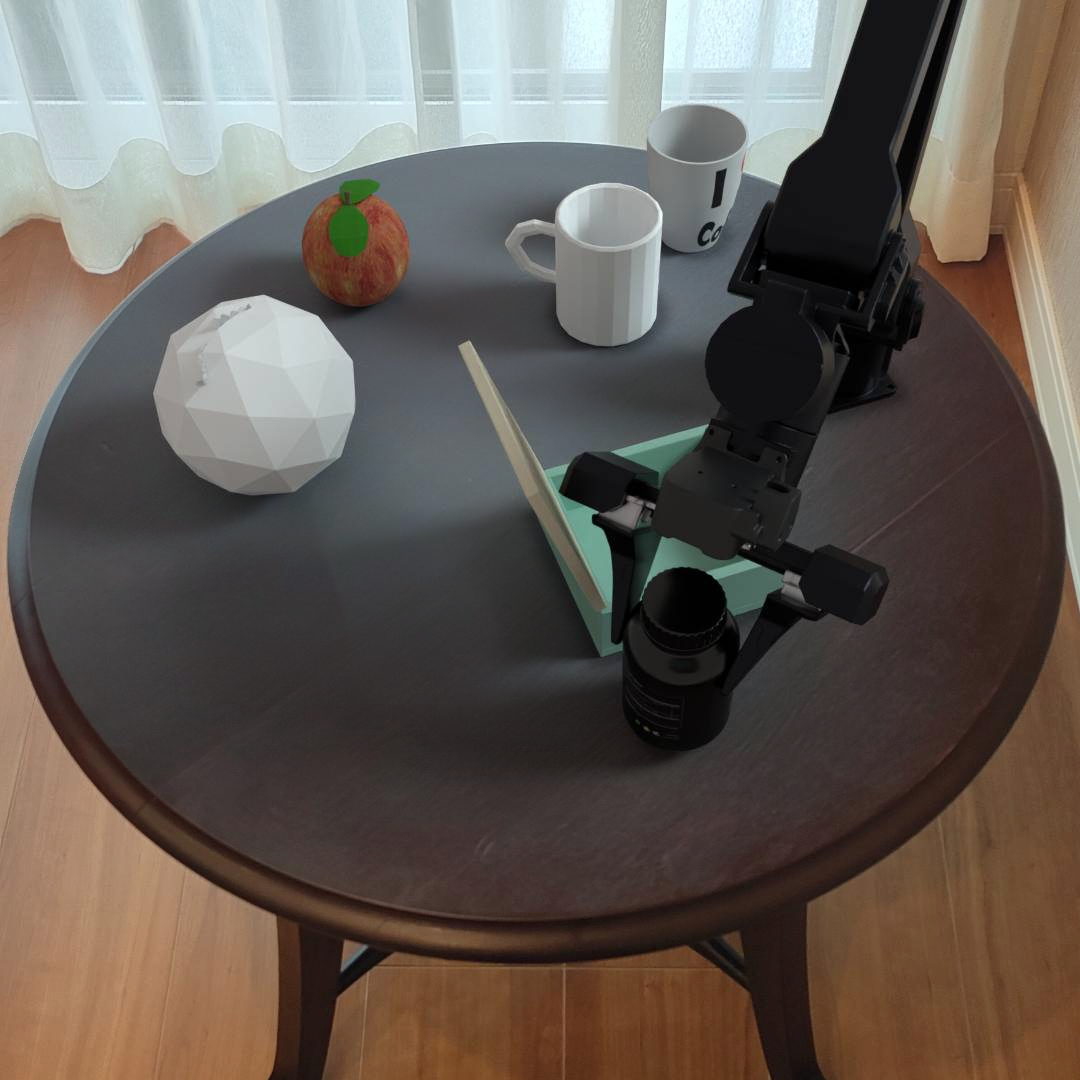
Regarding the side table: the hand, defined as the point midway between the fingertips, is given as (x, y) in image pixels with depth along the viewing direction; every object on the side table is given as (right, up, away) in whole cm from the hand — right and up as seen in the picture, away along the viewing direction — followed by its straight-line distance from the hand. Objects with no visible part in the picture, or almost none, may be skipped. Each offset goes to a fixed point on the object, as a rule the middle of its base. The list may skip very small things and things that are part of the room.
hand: (669, 668), depth 77 cm
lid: (-8, +11, +4) cm, 14 cm away
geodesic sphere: (-27, +13, +21) cm, 37 cm away
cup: (+5, +34, +36) cm, 50 cm away
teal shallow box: (+1, +6, +15) cm, 16 cm away
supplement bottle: (+1, -3, +6) cm, 7 cm away
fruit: (-22, +28, +33) cm, 48 cm away
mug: (-4, +26, +30) cm, 40 cm away
